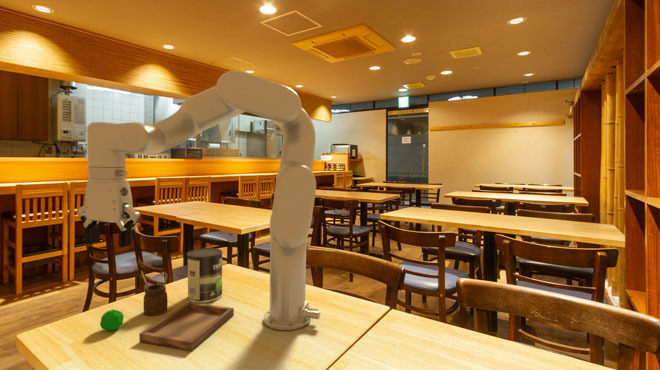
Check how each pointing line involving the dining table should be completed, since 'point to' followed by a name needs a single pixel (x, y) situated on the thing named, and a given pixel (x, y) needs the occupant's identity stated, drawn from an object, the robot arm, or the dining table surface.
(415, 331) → the dining table surface
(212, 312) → the tray
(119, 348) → the dining table surface
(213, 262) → the coffee can
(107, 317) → the polyhedron
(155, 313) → the utensil holder
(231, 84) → the robot arm
